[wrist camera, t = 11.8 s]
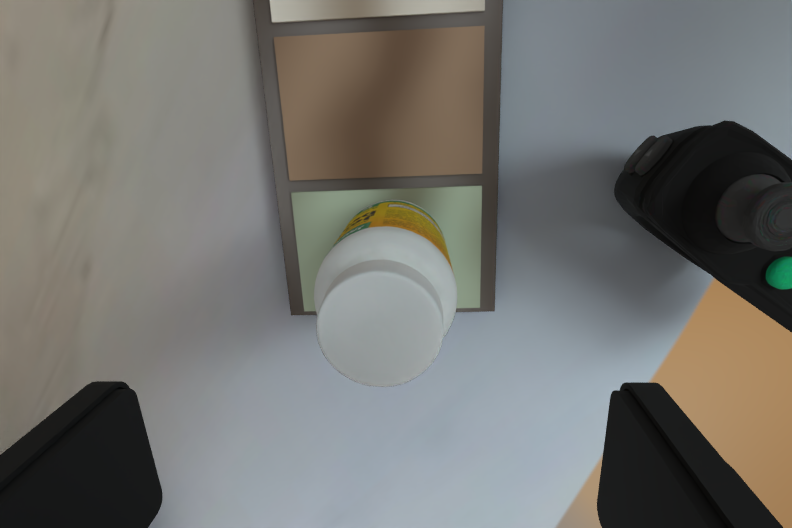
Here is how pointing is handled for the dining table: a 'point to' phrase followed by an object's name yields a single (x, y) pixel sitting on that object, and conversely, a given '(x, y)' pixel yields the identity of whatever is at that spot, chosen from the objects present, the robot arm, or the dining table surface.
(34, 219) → the dining table surface
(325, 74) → the game strip
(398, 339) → the supplement bottle
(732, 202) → the controller
